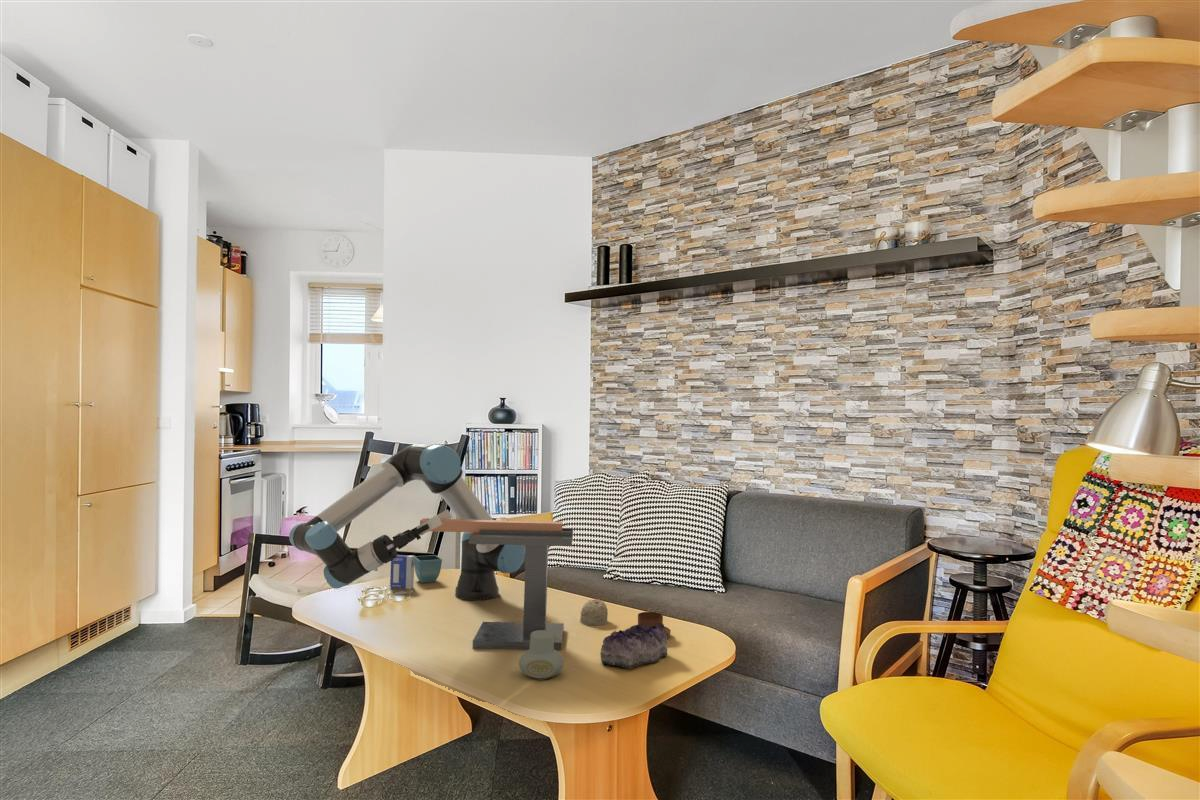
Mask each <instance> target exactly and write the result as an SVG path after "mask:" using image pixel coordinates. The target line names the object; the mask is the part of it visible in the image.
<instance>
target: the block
mask: <svg viewBox="0 0 1200 800" xmlns="http://www.w3.org/2000/svg"><path fill="white" fill-rule="evenodd" d="M430 519H431V518H428V519H426V518H425V517H423V518H422V519H420V520H419V525H421V524H423V523H424V522H426V521H428V520H430ZM440 520H441V522H442V524H441V525H440V526H438V527H436V528H434V529H432V530H430V531H429V532H437V533H439V532H440V533H442V532H443V533H447V532H448V533H464V532H478V533H480V529H485V530H528V531H562V528H563V521H548V520H547V521H545V520H544V521H543V520H541V521H540V520H539V521H538V520H537V521H536V520H534V521H533V520H503V519H501V520H500V519H498V520H497V519H493V520H466V519H459V518H458V519H457V518H456V519H455V518H450V519H440Z"/></svg>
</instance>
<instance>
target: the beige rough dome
mask: <svg viewBox="0 0 1200 800" xmlns="http://www.w3.org/2000/svg"><path fill="white" fill-rule="evenodd" d="M579 621H580V623H582V624H583V625H586V626H590V627H591V626H592V627H594V626H598V627H599V626H605V625H607V624H608V608H607V605H606V603H605V602H604V601H603V600H601V599H597V598H594V599H590V600H588V601H586V602H585V603H584V604H583V606H582V608H581V612H580V618H579Z"/></svg>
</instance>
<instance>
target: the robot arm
mask: <svg viewBox="0 0 1200 800" xmlns="http://www.w3.org/2000/svg"><path fill="white" fill-rule="evenodd" d="M461 462H462V461H461V457H460V455H459V454H458V452H456V450H454V449H453V448H451V447H450V446H447V445H444V444H440V443H439V444H437V443H435V444H430V443H413V444H410V445H408V446H405V447H404V448H402V449H401V450H399V451H398V452H395V454H394V455H392V456H390V457H389V458H388V459H386V460H385V461H384V462H382V464H381V468H380V469H378V470H377V471H376V472H374V473H373V474H372V475H370V476H369V477H368V478H366V479H364V480H363V481H362V482H361V483H359V484H358V485H357V486H355V487H353V488H352V489H351V490H349V492H347V493H345V494H344V495H343V496H341V497H340V498H339V499H338V500H336V501H335V502H333V503H332V504H331V505H329V506H328V507H326V508H325V509H324V510H322V511H321V512H320V513H318V514H317V515H316V516H314V517H313V518H311V519H310V520H308V521H307V522H300V523H298V524H295V525H294V526H293V527H292V528H291V529H290V531H289V534H288V536H289V538H288V539H289V542H290V545H291V546H293V547H294V548H296V549H297V550H299V551H302V552H303V551H304V552H307V553H309V554H311V555H315V556H317V557H319V559H320V560H321V561H322V563H323V564H324V565H325V567H324V568H323V576H324V579H325V580H326V583H327V584H328V585H329V586H330V587H331V588H332V589H336V590H338V589H341V588H343V587H344V586H347V585H350V584H352V583H353V582H354V581H356V580H358V579H360V578H362V577H363V576H365V575H367V574H369V573H371V572H372V571H374V572H378V571H379V569H378V568H380V567H382V566H384V564H388V563H391V561H392V560H393V559H395V558H396V557H397V555H398V551H397V549H398V550H400V549H402V548H404V547H406V546H407V545H408V544H409V543H411V542H412V541H414V540H417V541H419V540H421V539H422V537H421V536H423V535H425V534H427V533H428V532H431V531H430V530H432V529H434V528H436V527H438V526H440V525H441V524H442V522H441V520H440V519H453V516H452V514H451V512H450V511H449V509H446V510H444V511H442V512H440V513H438V514H436V515H435V516H433V517H430V518H428V517H427V518H425V519H430V520H428V521H426V522H424V523H423V524H421V525H420V524H419V525H418V526H416V527H414V528H412V529H407V530H405V531H403V532H399V533H397V534H396V535H394V536H391V537H392V539H391V538H390V537H389V535H387V534H383V535H380V536H378V537H377V538H375V539H374V540H373V541H369V542H367V543H365V544H363V545H361V546H359V547H358V548H357V549H355V550H353V551H352V549H350V547H349V546H348V545H347V543H346V542H345V541H344V539H343V538H342V536H341V535H340V534H339V533H338V532H339V531H340V530H341V529H343V528H344V527H345V526H347V525H349V524H350V523H351V522H352V521H353V520H355V519H357V517H359V516H360V515H362V514H363V513H364V512H365V511H367V509H369V508H370V507H372V506H373V505H375V504H376V503H377V502H379V501H380V500H381V499H382V498H383V497H385V496H387V494H388V493H390V492H392V491H393V490H394V489H396V487H397V488H402V487H404V486H405V485H406V484H408V483H409V482H412V481H421V482H423V483H424V484H425V486H426V487H427V488H428V489H429V490H430V492H431V493H432V494H435V495H440V496H441V498H442V499H443V500H444V501H445V503H446V504H447V505H448V507H449V508H450V509H451V511H452V512H453V513H454V514H455V515H456V517H457V518H458V519H466V520H494V518H492V516H491V515H490V513H489V512H488V510H486V508H485V507H484V506H483V504H482V503H481V501H480V500H479V499H478V497H477V496H476V494H475V493H474V492H473V491H472V489H471V488H470V486H468V484H467V483H466V482H465V480H464V478H463V473H464V471H463V469H462V467H461V464H462V463H461ZM472 533H473V532H462V535H461V536H462V538H461V557H460V558H461V565H460V568H461V569H460V574H459V575H460V576H459V579H458V581H457V585H456V586H455V590H454V591H455V593H454V596H455V597H456V598H458V599H462V600H470V601H472V600H473V601H479V600H480V601H481V600H484V601H485V600H490V599H494V598H496V597H498V596H499V591H500V590H499V586H498V583H497V579H496V575H495V571H496V572H500V573H501V574H513V573H515V572H517V571H518V570H519V569H520V568H521V566H522V565H523V563H524V561H525V554H526V546H525V545H498V544H469V536H470V535H471V534H472Z"/></svg>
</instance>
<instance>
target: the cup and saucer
mask: <svg viewBox="0 0 1200 800" xmlns="http://www.w3.org/2000/svg"><path fill="white" fill-rule="evenodd" d="M658 623H659V624H660V625H661V624H663V626H664V630H665V633H666V636H667V637H668V636H670V634H671V629H670V628H669V627H667V626H665V624H664V616H663V614H661V613H659V612H654V611H643V612H639V613H638V614H637V625H641V626H644V625H645V624H646V625H648V626H655V627H656V626H657V625H658ZM631 627H633V625H632V626H631Z"/></svg>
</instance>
